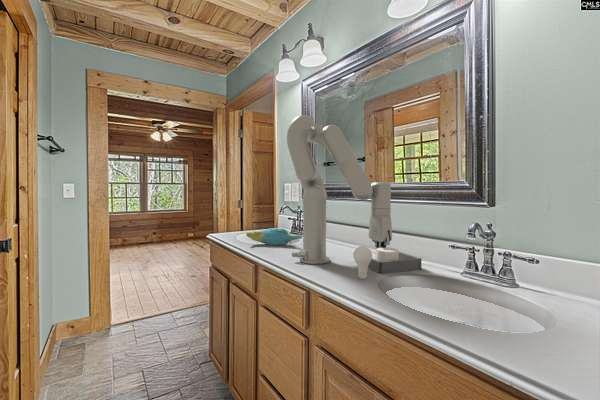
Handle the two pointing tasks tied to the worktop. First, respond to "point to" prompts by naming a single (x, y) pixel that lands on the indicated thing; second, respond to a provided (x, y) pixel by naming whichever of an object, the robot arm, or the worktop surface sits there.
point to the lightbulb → (362, 260)
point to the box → (396, 264)
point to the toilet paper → (387, 254)
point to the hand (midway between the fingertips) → (380, 257)
